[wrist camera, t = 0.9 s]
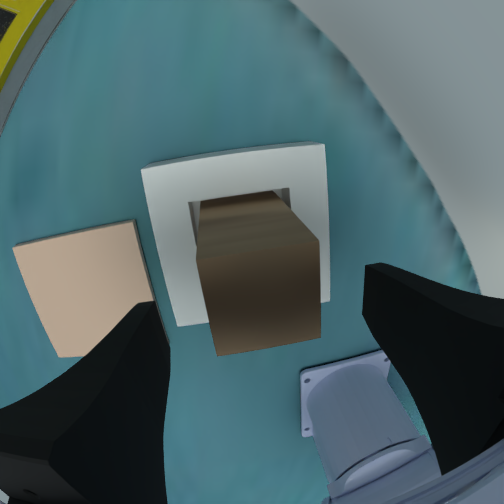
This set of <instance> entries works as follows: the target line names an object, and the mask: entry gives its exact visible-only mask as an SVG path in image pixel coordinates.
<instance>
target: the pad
mask: <svg viewBox="0 0 504 504" xmlns="http://www.w3.org/2000/svg"><path fill="white" fill-rule="evenodd" d="M13 251H14V254H15V257H16V260H17V263H18V266H19V268H20V271H21V274H22V277H23V279H24V282H25V284H26V287H27V289H28V292H29V294H30V297H31V299H32V302H33V304H34V306H35V308H36V311H37V313H38V315H39V317H40V320H41V322H42V324H43V326H44V328H45V330H46V332H47V334H48V337H49V339H50V341H51V343H52V345H53V347H54V348H55V350H56V352H57V354H58V356H59V357H77V356H85V355H86V354H88V353H89V352H90V351H91V350H92V349H93V348H94V347H95V346H96V345H97V344H98V343H99V342H100V341H101V340H102V339H103V338H104V337H105V336H106V335H107V334H108V333H109V332H110V331H111V330H112V329H113V328H114V327H115V326H116V325H117V324H118V323H119V321H120V320H121V319H122V318H123V317H124V316H125V315H126V314H127V313H128V312H129V311H130V310H131V309H132V308H133V307H134V306H135V305H136V304H137V303H140V302H147V301H155V302H156V299H155V295H154V292H153V288H152V285H151V281H150V277H149V274H148V270H147V266H146V262H145V259H144V255H143V251H142V247H141V243H140V239H139V234H138V230H137V226H136V222H135V219H132V220H127V221H122V222H117V223H112V224H107V225H102V226H97V227H92V228H87V229H82V230H78V231H73V232H68V233H64V234H59V235H55V236H50V237H46V238H41V239H37V240H33V241H29V242H24V243H20V244H16V245H15V246H14V247H13ZM156 305H157V302H156ZM157 308H158V305H157ZM158 312H159V309H158ZM159 315H160V312H159ZM160 318H161V315H160ZM161 321H162V319H161ZM162 324H163V322H162ZM163 328H164V325H163ZM164 331H165V328H164ZM165 334H166V331H165ZM166 337H167V334H166ZM167 340H168V338H167ZM168 343H169V341H168Z"/></svg>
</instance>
